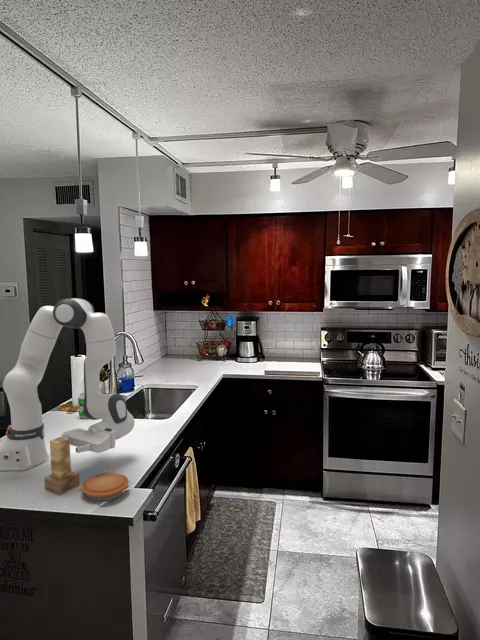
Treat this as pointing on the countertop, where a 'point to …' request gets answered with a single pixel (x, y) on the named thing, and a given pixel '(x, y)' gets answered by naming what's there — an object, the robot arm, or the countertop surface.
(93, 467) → the slate board
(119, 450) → the countertop surface
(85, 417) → the soda can
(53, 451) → the oak post
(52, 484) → the walnut plinth
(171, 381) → the countertop surface
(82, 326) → the robot arm
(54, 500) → the countertop surface
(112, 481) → the pie
